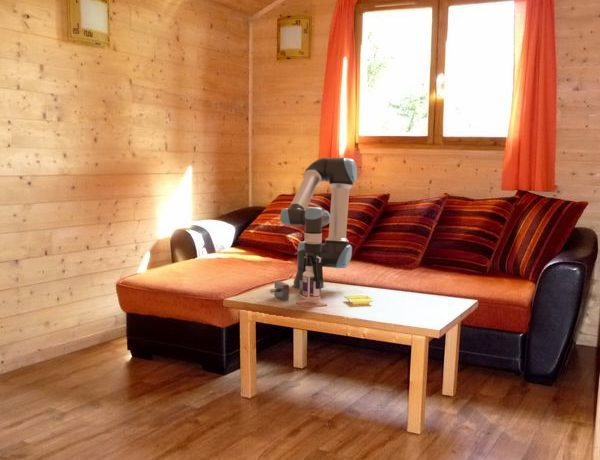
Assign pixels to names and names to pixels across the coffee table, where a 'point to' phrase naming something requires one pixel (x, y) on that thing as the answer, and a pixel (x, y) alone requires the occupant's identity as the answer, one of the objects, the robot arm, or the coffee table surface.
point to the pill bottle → (309, 284)
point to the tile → (311, 303)
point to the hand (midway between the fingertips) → (311, 293)
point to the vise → (284, 290)
